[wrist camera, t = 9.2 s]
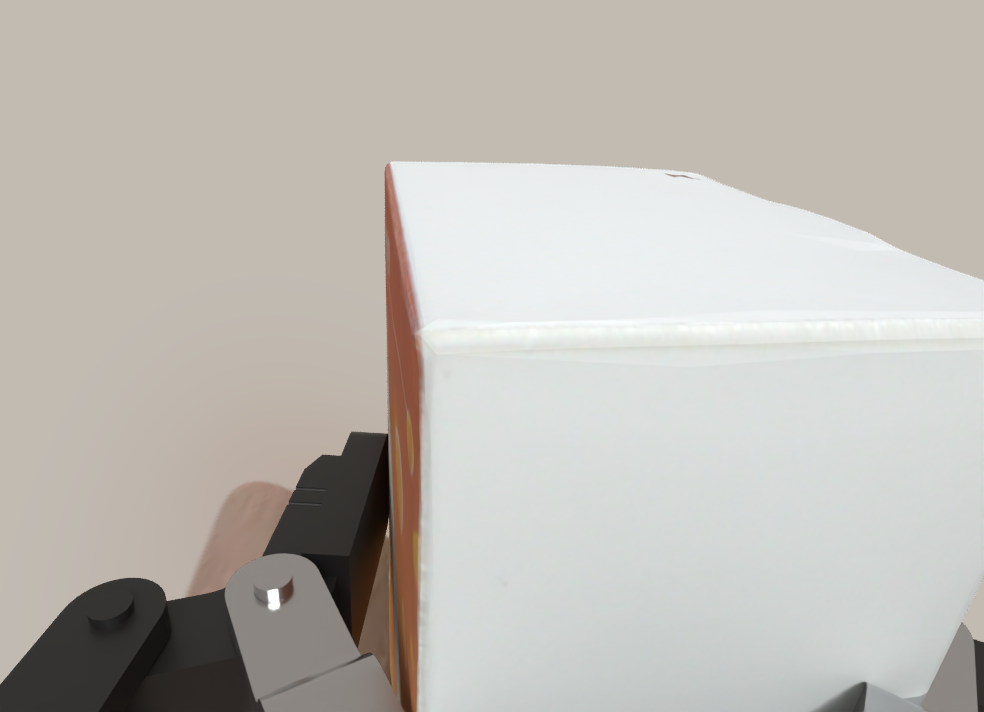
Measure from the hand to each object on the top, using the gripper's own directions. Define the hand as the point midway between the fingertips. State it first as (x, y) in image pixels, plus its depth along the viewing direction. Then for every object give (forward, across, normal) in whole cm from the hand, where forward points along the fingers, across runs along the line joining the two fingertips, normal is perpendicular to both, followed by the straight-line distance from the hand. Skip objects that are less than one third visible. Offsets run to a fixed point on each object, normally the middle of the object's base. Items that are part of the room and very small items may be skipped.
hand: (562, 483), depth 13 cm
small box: (-2, 0, +7) cm, 8 cm away
